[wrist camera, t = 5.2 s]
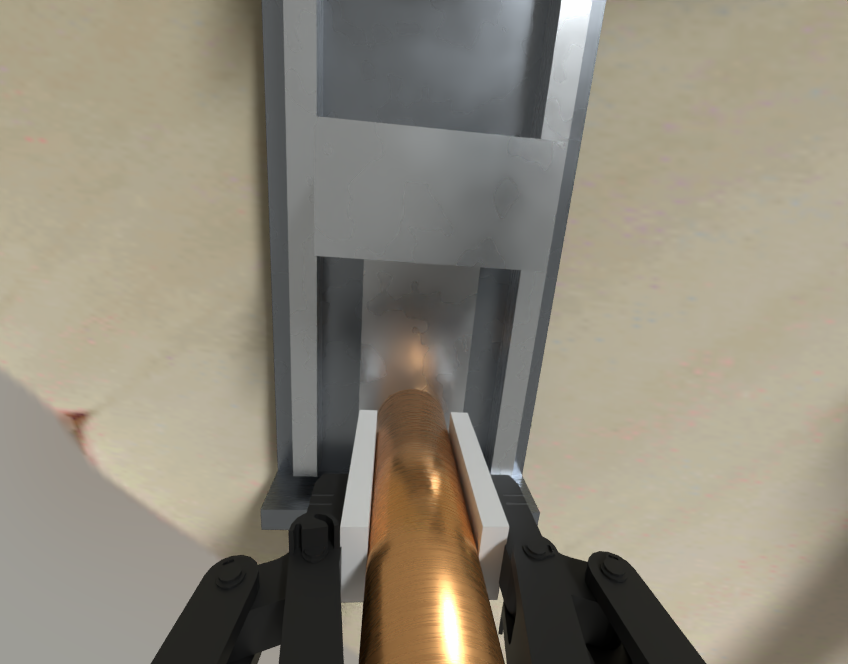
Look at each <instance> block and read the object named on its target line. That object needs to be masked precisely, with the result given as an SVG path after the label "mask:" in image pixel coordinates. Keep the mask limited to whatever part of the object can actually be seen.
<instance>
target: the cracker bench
mask: <svg viewBox="0 0 848 664" xmlns="http://www.w3.org/2000/svg"><path fill="white" fill-rule="evenodd" d="M605 4H606V0H262V23H263V52H264V81H265V110H266V139H267V168H268V197H269V226H270V255H271V284H272V313H273V341H274V370H275V399H276V428H277V457H278V472H277V474H276V476H275V478H274V481H273V483H272V485H271V487H270V490H269V492H268V494H267V496H266V499H265V501H264V503H263V505H262V508H261V526H262V530H289V529H290V526H291V524H292V523H293V522H294V520H295V519H296V518H297V517H299V516H301V515H303V514H305V513H307V509H308V506H309V502H310V499H311V496H312V492H313V488H314V485H315V482H316V481H317V480H318V479H319V478H320V477H321V476H322V475H323V474H349V471H350V465H351V459H352V453H353V447H354V441H355V435H356V429H357V423H358V417H359V391H360V361H361V331H362V302H363V272H364V259H354V258H339V257H325V256H314V116H319V117H328V118H338V119H348V120H358V121H368V122H377V123H387V124H397V125H407V126H417V127H426V128H436V129H446V130H456V131H466V132H475V133H485V134H495V135H505V136H515V137H524V138H534V139H544V140H554V141H564V142H566V148H565V154H564V160H563V166H562V172H561V178H560V184H559V190H558V196H557V202H556V208H555V214H554V220H553V226H552V231H551V237H550V243H549V249H548V255H547V261H546V267H545V272H540V271H526V270H511V269H497V268H483V267H480V273H479V282H478V290H477V298H476V307H475V315H474V324H473V332H472V340H471V349H470V357H469V365H468V374H467V382H466V391H465V399H464V407H463V413H468V415H469V418H470V421H471V423H472V426H473V429H474V432H475V434H476V437H477V440H478V442H479V445H480V448H481V451H482V453H483V456H484V459H485V462H486V464H487V467H488V470H489V473H490V474H493V475H509V476H510V477H511V478H513V479H514V480H515V481H516V482H517V483H518V485H519V487H520V489H521V491H522V494H523V496H524V498H525V500H526V502H527V505H528V507H529V509H530V511H531V513H532V515H533V518H534V520H535V522H536V524H537V525H538V520H539V515H540V512H539V510H538V508H537V505H536V503H535V501H534V499H533V497H532V495H531V493H530V491H529V489H528V487H527V485H526V483H525V481H524V479H523V476H522V473H523V467H524V461H525V456H526V450H527V444H528V439H529V433H530V427H531V422H532V416H533V410H534V405H535V399H536V394H537V388H538V382H539V377H540V371H541V365H542V360H543V354H544V348H545V343H546V337H547V331H548V326H549V320H550V315H551V309H552V303H553V298H554V292H555V286H556V281H557V275H558V269H559V264H560V258H561V252H562V247H563V241H564V236H565V230H566V224H567V219H568V213H569V207H570V202H571V196H572V190H573V185H574V179H575V174H576V168H577V162H578V157H579V151H580V145H581V140H582V134H583V128H584V123H585V117H586V111H587V106H588V100H589V95H590V89H591V83H592V78H593V72H594V66H595V61H596V55H597V49H598V44H599V38H600V32H601V27H602V21H603V16H604V10H605Z"/></svg>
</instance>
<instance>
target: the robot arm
mask: <svg viewBox="0 0 848 664" xmlns="http://www.w3.org/2000/svg"><path fill="white" fill-rule="evenodd" d="M376 432H377V410H360V411H359V417H358V423H357V429H356V435H355V441H354V447H353V453H352V459H351V465H350V471H349V474H323V475H322V476H321V477H320V478H319V479H318V480H317V481H316V482H315V485H314V488H313V492H312V496H311V499H310V502H309V506H308V509H307V513H305V514H303V515H301V516H299V517H297V518H296V519H295V520H294V522H293V523H292V524H291V526H290V529H289V553H287V554H286V555H284V556H282V557H281V558H279V559H276V560H273V561H270V562H267V563H263V564H259V565H257V562H256V561H255V560H253V559H252V558H251V557H248V556H244V555H237V556H231V557H228V558H225V559H223V560H221V561H219V562H218V563H216V564H215V565H214V566H212V567H211V568H210V569H209V570H208V572H207V573H206V574H205V575H204V577H203V579H202V580H201V582H200V584H199V585H198V587H197V588H196V590H195V592H194V593H193V595H192V597H191V599H190V600H189V602H188V603H187V605H186V607H185V608H184V610H183V612H182V613H181V615H180V616H179V618H178V620H177V621H176V623H175V625H174V626H173V628H172V630H171V631H170V633H169V635H168V636H167V638H166V640H165V641H164V643H163V644H162V646H161V648H160V649H159V651H158V653H157V654H156V656H155V658H154V659H153V661H152V663H151V664H257V663H258V660H259V658H260V655H261V652H262V651H264V650H267V649H270V648H272V647H275V646H278V645H281V646H280V657H279V664H344V660H343V636H342V613H341V603H345V602H364V589H365V575H366V564H367V555H368V542H369V528H370V515H371V501H372V488H373V474H374V461H375V447H376ZM449 438H450V442H451V446H452V450H453V454H454V458H455V463H456V467H457V471H458V475H459V479H460V483H461V487H462V491H463V495H464V499H465V503H466V508H467V512H468V516H469V520H470V524H471V528H472V532H473V536H474V540H475V544H476V548H477V553H478V557H479V561H480V565H481V569H482V573H483V577H484V581H485V585H486V589H487V593H488V598H489V600H497V599H498V593H499V587H500V589H501V592H502V596H503V599H504V602H503V607H502V613H501V619H500V625H499V634H502V633H503V632H504V641H505V651H506V660H507V664H706V663H705V661H704V660H703V659H702V657H701V656H700V655H699V653H698V652H697V651H696V650H695V648H694V647H693V646H692V644H691V643H690V642H689V640H688V639H687V638H686V636H685V635H684V634H683V632H682V631H681V630H680V628H679V627H678V626H677V624H676V623H675V622H674V620H673V619H672V618H671V616H670V615H669V614H668V613H667V611H666V610H665V609H664V607H663V606H662V605H661V603H660V602H659V601H658V599H657V598H656V597H655V595H654V594H653V593H652V591H651V590H650V589H649V587H648V586H647V585H646V583H645V582H644V581H643V580H642V578H641V577H640V576H639V574H638V573H637V572H636V570H635V569H634V568H633V567H632V566H631V565H630V564H629V563H628V562H627V561H626V560H624V559H623V558H621V557H619V556H618V555H615V554H612V553H610V552H602V551H599V552H596V553H593V554H592V555H591V556H590V557H589V559H588V562H586V561H582V560H578V559H574V558H571V557H568V556H565V555H562V554H560V553H559V552H558V551H557V549H556V547H555V546H554V545H553V544H552V543H551V542H550V541H549V540H548V539H546V538H544V537H543V536H542V535H541V533H540V531H539V529H538V526H537V524H536V522H535V520H534V518H533V515H532V513H531V511H530V509H529V507H528V505H527V502H526V500H525V498H524V496H523V494H522V491H521V489H520V487H519V485H518V483H517V482H516V481H515V480H514V479H513V478H511V477H510V476H509V475H493V474H490V473H489V470H488V467H487V464H486V462H485V459H484V456H483V453H482V451H481V448H480V445H479V442H478V440H477V437H476V434H475V432H474V429H473V426H472V423H471V421H470V418H469V415H468V413H458V412H451V414H450V424H449Z"/></svg>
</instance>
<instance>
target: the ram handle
mask: <svg viewBox="0 0 848 664" xmlns="http://www.w3.org/2000/svg"><path fill="white" fill-rule="evenodd" d="M565 148H566V142H564V141H554V140H544V139H534V138H524V137H515V136H505V135H495V134H485V133H475V132H466V131H456V130H446V129H436V128H426V127H417V126H407V125H397V124H387V123H377V122H368V121H358V120H348V119H338V118H328V117H319V116H314V256H325V257H339V258H354V259H364V272H363V302H362V331H361V361H360V391H359V411H360V410H377V432H376V447H375V461H374V474H373V488H372V501H371V515H370V528H369V542H368V555H367V564H366V575H365V589H364V602H363V615H362V628H361V641H360V654H359V664H505V663H504V659H503V655H502V651H501V647H500V643H499V638H498V634H497V630H496V626H495V622H494V618H493V614H492V610H491V606H490V602H489V598H488V593H487V589H486V585H485V581H484V577H483V573H482V569H481V565H480V561H479V557H478V553H477V548H476V544H475V540H474V536H473V532H472V528H471V524H470V520H469V516H468V512H467V508H466V503H465V499H464V495H463V491H462V487H461V483H460V479H459V475H458V471H457V467H456V463H455V458H454V454H453V450H452V446H451V442H450V438H449V424H450V414H451V412H458V413H463V407H464V399H465V391H466V382H467V374H468V365H469V357H470V349H471V340H472V332H473V324H474V315H475V307H476V298H477V290H478V282H479V273H480V267H483V268H497V269H511V270H526V271H540V272H545V267H546V261H547V255H548V249H549V243H550V237H551V231H552V226H553V220H554V214H555V208H556V202H557V196H558V190H559V184H560V178H561V172H562V166H563V160H564V154H565Z"/></svg>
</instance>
